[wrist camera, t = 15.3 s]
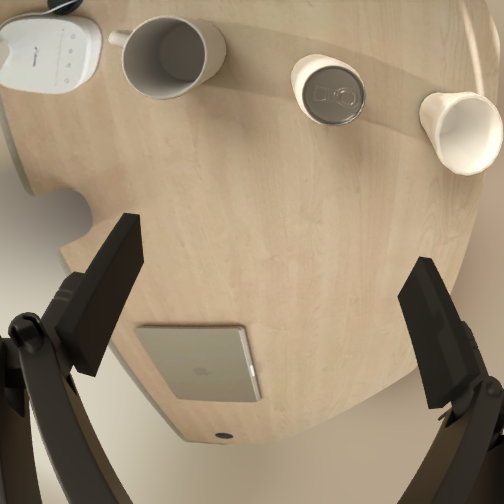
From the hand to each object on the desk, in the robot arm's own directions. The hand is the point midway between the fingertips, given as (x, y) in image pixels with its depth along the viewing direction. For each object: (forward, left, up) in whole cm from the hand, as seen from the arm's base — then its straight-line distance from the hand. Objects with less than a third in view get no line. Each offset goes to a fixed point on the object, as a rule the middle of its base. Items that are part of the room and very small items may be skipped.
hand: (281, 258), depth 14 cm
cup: (-5, +21, -29) cm, 36 cm away
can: (-5, +4, -29) cm, 30 cm away
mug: (-7, -13, -29) cm, 32 cm away
